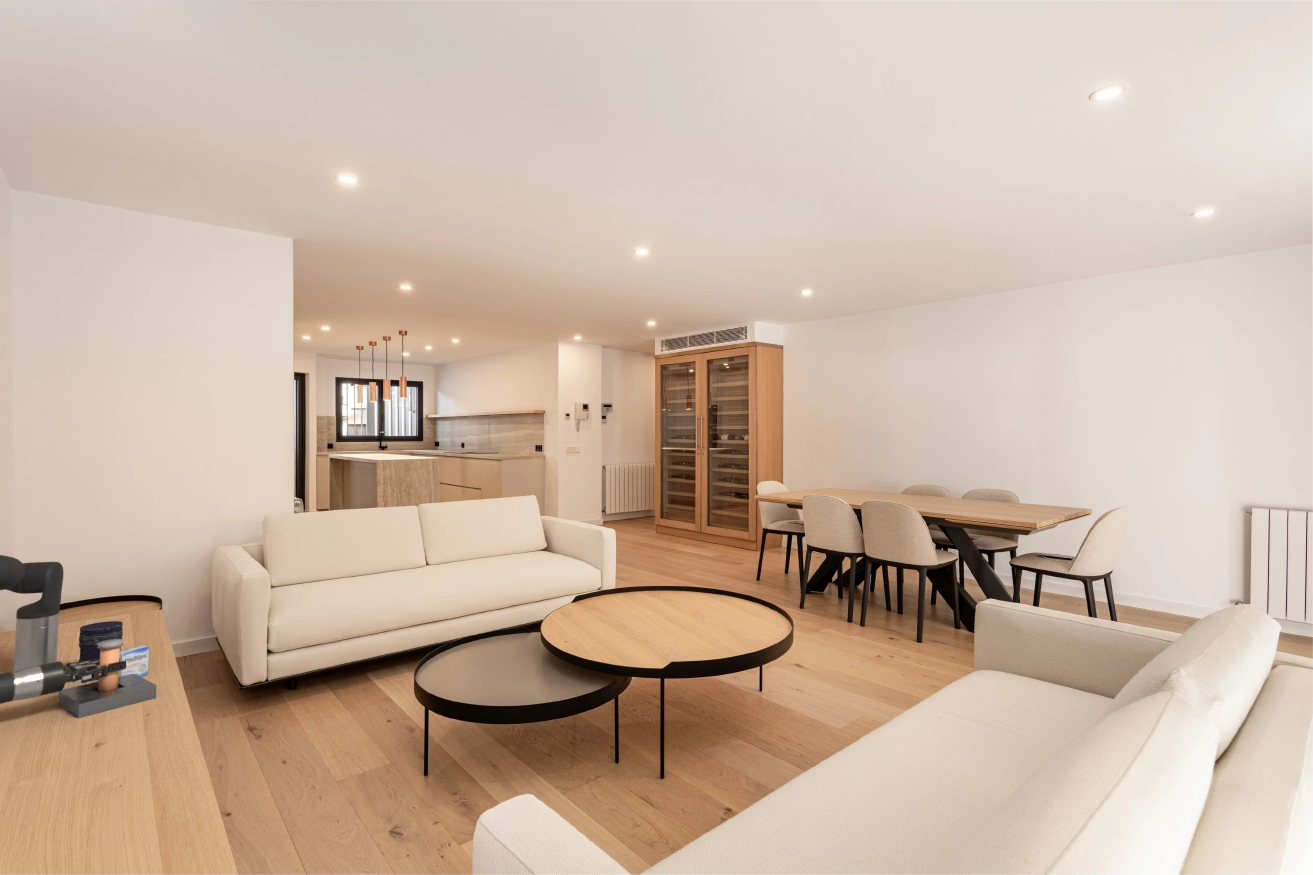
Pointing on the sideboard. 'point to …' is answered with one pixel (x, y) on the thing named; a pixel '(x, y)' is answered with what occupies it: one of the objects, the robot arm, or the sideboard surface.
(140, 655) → the medicine box
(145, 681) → the socket block
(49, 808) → the sideboard surface
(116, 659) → the pin
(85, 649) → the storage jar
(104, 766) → the sideboard surface
